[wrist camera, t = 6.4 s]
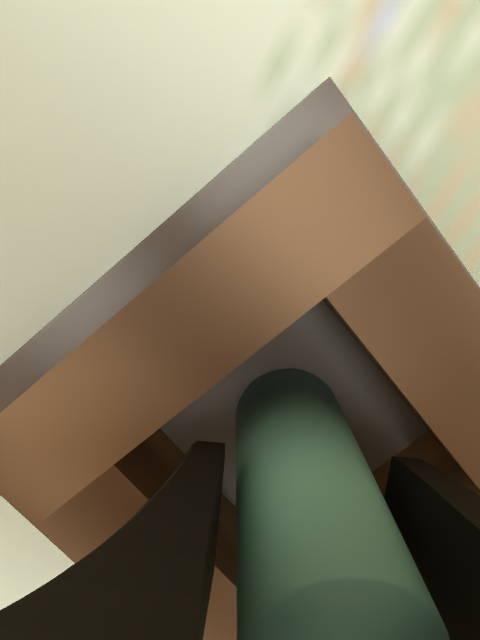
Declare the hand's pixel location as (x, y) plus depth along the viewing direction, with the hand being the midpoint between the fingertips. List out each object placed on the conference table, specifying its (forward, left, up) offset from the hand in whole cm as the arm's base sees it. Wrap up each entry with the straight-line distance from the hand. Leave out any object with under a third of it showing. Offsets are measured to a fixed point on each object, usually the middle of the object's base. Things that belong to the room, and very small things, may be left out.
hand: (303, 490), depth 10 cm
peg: (0, 0, -3) cm, 3 cm away
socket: (0, 0, -4) cm, 4 cm away
